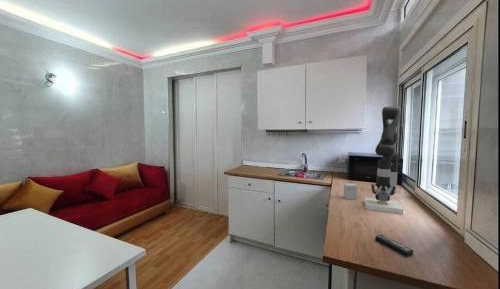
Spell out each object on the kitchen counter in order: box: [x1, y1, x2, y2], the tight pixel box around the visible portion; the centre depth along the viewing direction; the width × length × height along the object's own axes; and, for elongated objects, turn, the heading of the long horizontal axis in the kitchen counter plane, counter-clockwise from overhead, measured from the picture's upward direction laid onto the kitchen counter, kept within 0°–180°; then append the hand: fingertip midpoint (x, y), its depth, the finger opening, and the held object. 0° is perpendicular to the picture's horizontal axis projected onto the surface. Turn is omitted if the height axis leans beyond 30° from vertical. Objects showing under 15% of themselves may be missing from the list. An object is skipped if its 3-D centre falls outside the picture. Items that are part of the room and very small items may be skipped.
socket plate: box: [363, 197, 404, 215], centre depth 144 cm, size 16×20×4 cm
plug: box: [378, 190, 388, 205], centre depth 144 cm, size 5×5×8 cm
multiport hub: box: [374, 234, 414, 257], centre depth 97 cm, size 4×14×2 cm, turn 22°
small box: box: [343, 183, 358, 200], centre depth 163 cm, size 8×6×10 cm
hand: (382, 200), depth 144 cm, fingers closed on plug, 5 cm apart
